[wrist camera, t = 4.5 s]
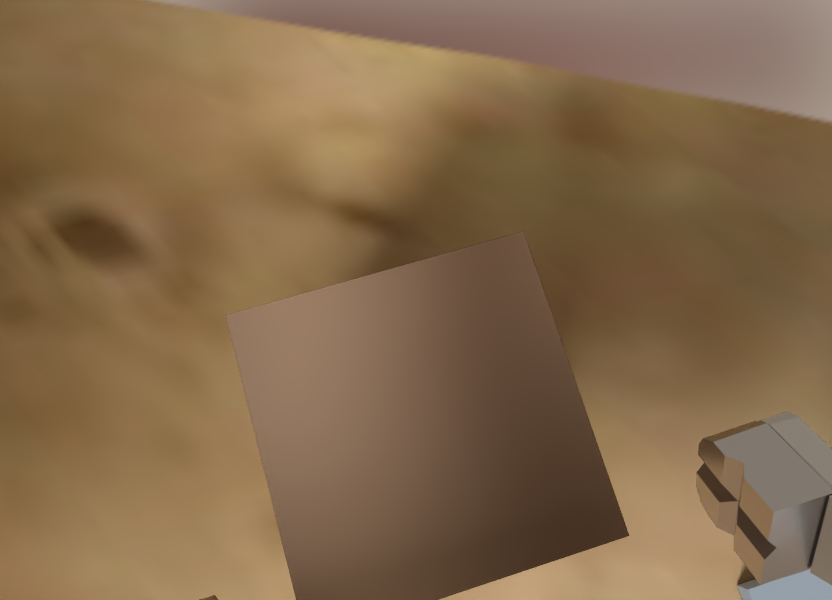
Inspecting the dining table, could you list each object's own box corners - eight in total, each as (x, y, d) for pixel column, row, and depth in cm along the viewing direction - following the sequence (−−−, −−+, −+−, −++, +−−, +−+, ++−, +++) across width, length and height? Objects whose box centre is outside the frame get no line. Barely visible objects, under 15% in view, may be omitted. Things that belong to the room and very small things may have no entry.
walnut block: (349, 541, 19) (307, 643, 10) (305, 376, 20) (226, 315, 10) (511, 489, 20) (629, 536, 10) (460, 331, 21) (523, 231, 11)
